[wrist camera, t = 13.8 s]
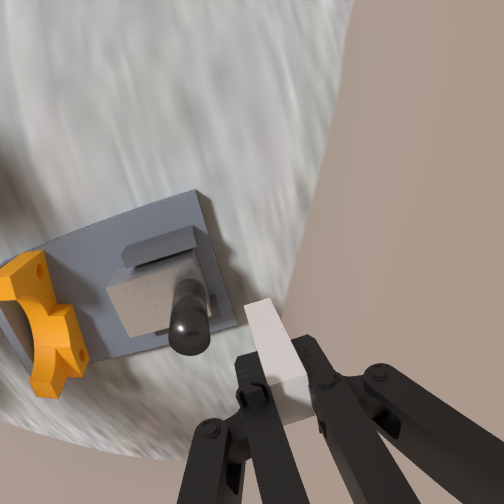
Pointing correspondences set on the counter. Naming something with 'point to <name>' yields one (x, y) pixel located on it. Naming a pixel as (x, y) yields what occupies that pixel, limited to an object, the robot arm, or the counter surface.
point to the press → (104, 267)
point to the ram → (165, 300)
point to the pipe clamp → (45, 324)
